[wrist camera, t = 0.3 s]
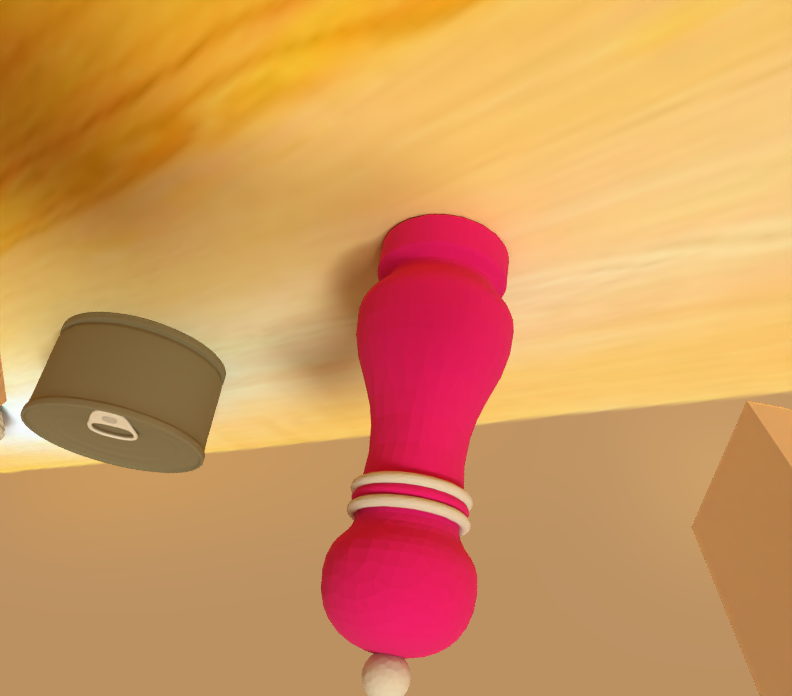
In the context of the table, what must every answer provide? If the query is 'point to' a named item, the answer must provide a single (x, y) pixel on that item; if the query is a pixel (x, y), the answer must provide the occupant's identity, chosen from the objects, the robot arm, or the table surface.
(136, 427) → the can
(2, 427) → the cable
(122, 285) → the table surface
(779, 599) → the robot arm
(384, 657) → the pepper mill
